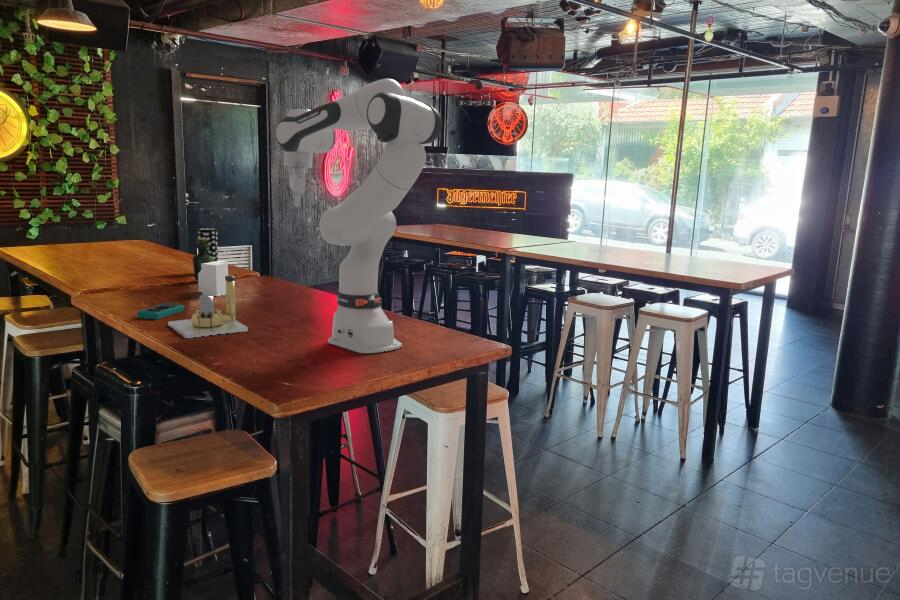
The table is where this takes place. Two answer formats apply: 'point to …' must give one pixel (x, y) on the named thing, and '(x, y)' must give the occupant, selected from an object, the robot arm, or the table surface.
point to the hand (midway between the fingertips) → (296, 205)
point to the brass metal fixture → (217, 316)
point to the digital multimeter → (160, 311)
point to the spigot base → (193, 331)
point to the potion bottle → (201, 256)
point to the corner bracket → (213, 278)
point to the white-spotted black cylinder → (209, 241)
